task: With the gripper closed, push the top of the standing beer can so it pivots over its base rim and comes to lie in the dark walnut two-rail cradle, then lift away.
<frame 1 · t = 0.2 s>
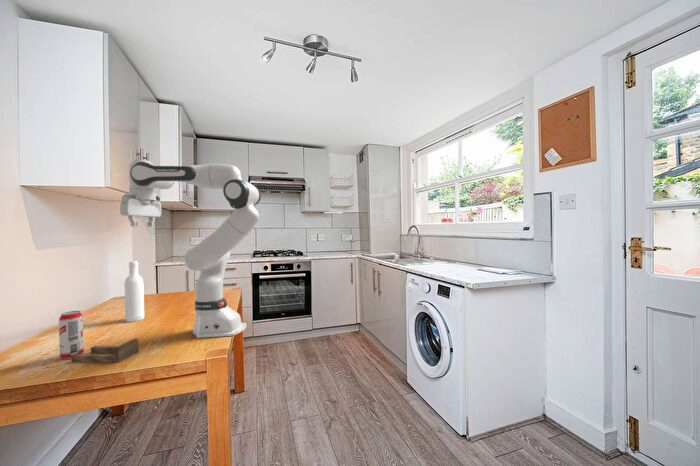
hand: (142, 226, 128), 48 cm above the table, fingers open, 8 cm apart
bottle: (135, 320, 145), on the table
rest: (103, 356, 102), on the table
beer can: (72, 356, 103), on the table
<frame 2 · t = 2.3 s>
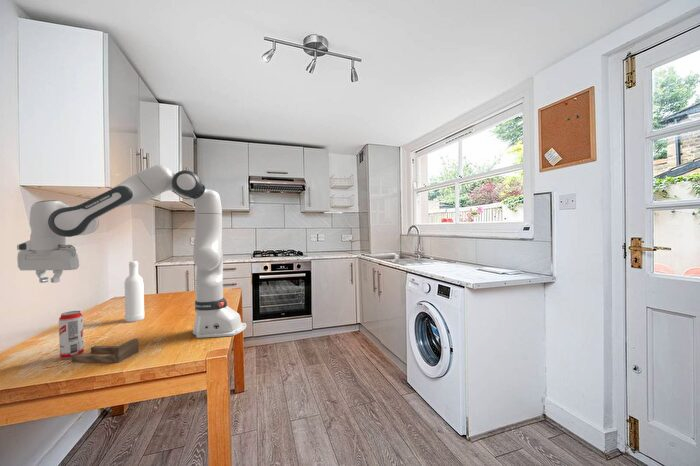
hand: (49, 282, 103), 27 cm above the table, fingers open, 3 cm apart
nothing on the table moved.
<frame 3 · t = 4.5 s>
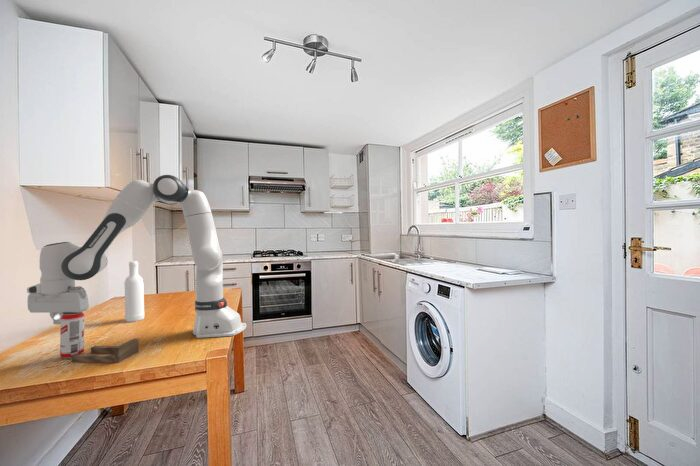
hand: (59, 323, 103), 12 cm above the table, fingers closed
beer can: (72, 356, 103), on the table, touching gripper
everything else where it was.
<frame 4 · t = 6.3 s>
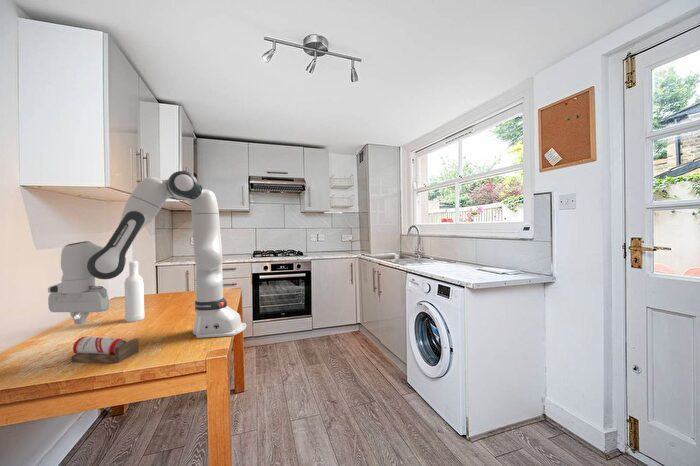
hand: (80, 323, 103), 12 cm above the table, fingers closed
beer can: (79, 345, 103), point 4 cm above the table, touching rest
everything else where it was.
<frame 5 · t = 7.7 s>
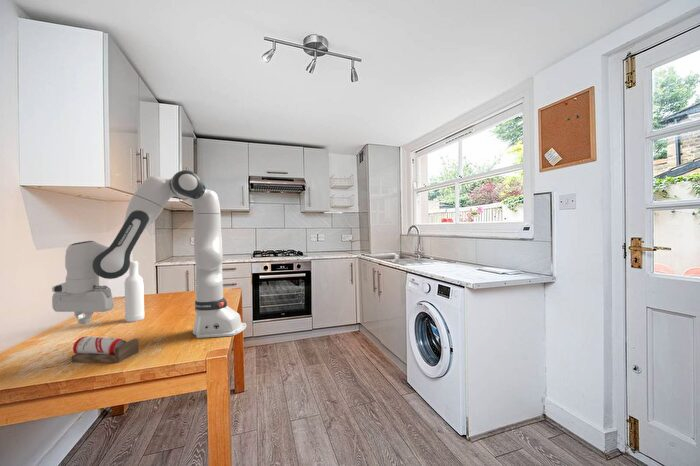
hand: (84, 323, 103), 12 cm above the table, fingers closed
nothing on the table moved.
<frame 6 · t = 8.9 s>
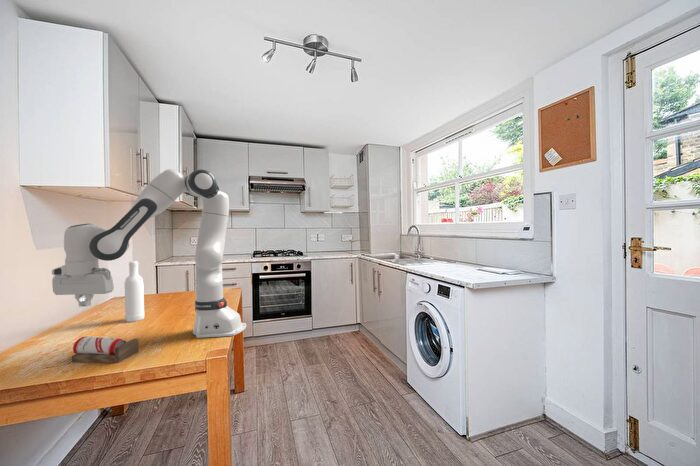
hand: (85, 306, 103), 18 cm above the table, fingers closed
nothing on the table moved.
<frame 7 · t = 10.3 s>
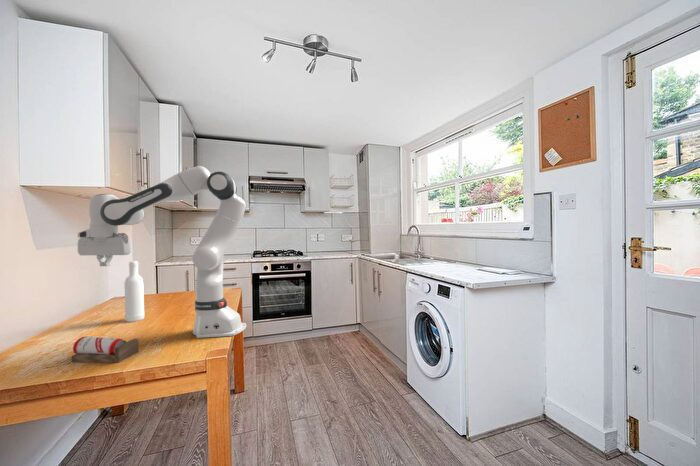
hand: (104, 266, 117), 31 cm above the table, fingers closed
nothing on the table moved.
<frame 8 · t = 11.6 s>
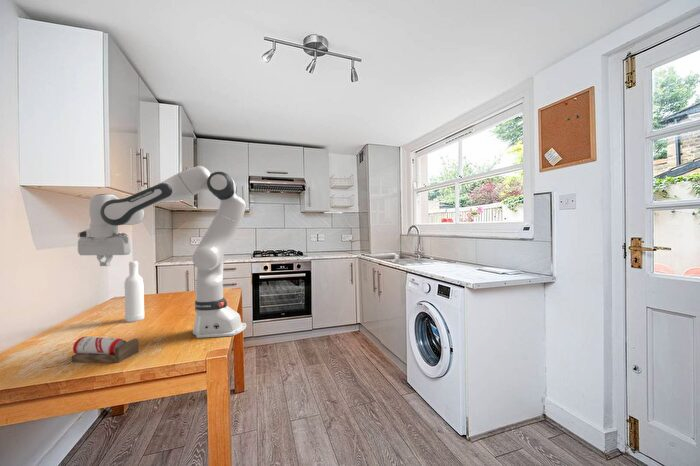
hand: (105, 266, 118), 31 cm above the table, fingers closed
nothing on the table moved.
at the end: beer can tilted 92°; beer can inside the target area (7.3 cm from its centre), point 3.9 cm above the table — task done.
